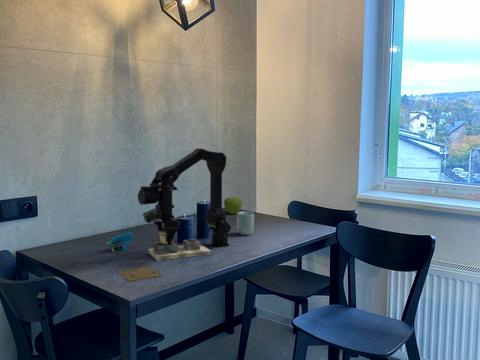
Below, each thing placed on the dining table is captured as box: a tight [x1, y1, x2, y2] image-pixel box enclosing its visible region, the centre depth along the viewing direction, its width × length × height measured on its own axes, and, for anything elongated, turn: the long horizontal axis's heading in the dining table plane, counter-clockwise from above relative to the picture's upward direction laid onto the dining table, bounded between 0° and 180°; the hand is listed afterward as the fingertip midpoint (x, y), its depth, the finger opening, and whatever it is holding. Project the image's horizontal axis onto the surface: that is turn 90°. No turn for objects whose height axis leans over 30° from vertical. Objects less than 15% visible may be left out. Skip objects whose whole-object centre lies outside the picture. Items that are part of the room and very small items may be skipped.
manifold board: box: [148, 238, 212, 261], centre depth 192 cm, size 22×12×4 cm, turn 116°
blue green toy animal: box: [106, 232, 135, 253], centre depth 195 cm, size 11×6×10 cm
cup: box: [236, 211, 255, 236], centre depth 226 cm, size 8×8×10 cm
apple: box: [223, 196, 243, 215], centre depth 274 cm, size 11×10×10 cm
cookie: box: [118, 266, 163, 283], centre depth 166 cm, size 12×12×1 cm
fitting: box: [158, 230, 170, 246], centre depth 189 cm, size 5×5×8 cm
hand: (165, 241), depth 189 cm, fingers open, 9 cm apart
